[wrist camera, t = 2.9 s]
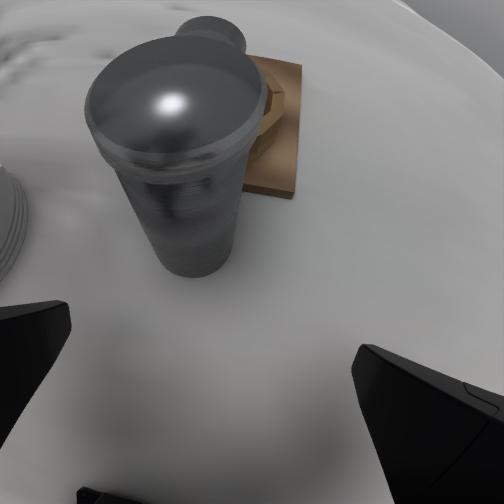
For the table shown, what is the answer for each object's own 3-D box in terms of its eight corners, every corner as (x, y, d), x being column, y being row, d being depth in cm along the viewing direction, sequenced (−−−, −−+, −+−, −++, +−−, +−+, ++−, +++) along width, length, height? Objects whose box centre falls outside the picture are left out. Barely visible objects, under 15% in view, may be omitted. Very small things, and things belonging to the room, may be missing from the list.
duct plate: (291, 199, 22) (306, 168, 18) (122, 174, 21) (109, 140, 17) (299, 72, 26) (309, 40, 23) (174, 55, 26) (172, 22, 22)
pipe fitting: (228, 287, 20) (256, 170, 7) (143, 273, 19) (52, 148, 7) (245, 177, 22) (280, 13, 10) (170, 166, 22) (147, 3, 9)
